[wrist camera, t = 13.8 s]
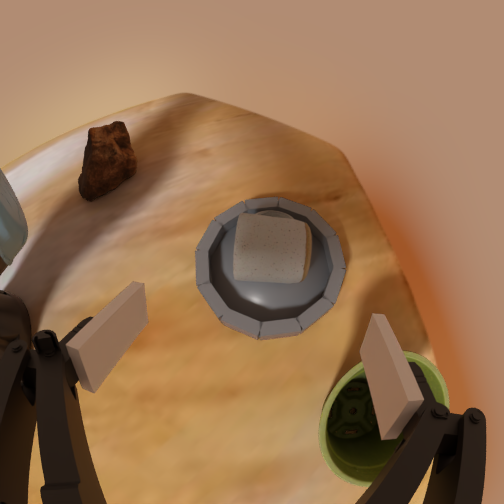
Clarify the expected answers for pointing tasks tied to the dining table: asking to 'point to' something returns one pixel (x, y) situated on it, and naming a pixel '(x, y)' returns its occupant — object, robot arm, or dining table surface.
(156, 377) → the dining table surface
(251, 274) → the ceramic mug
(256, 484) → the dining table surface
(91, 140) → the decorative rock
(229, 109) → the dining table surface
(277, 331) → the round tray
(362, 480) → the plant pot
